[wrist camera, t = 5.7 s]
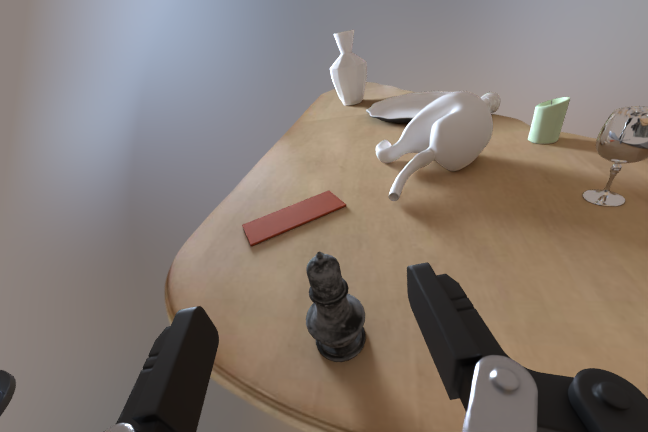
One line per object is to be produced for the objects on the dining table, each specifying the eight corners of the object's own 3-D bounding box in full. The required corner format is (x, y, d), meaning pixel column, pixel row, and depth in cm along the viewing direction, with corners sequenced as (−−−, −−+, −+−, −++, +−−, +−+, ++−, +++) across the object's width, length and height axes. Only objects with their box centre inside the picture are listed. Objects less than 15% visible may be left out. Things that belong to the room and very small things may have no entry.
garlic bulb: (466, 115, 78) (468, 95, 75) (483, 110, 79) (486, 89, 76) (482, 119, 73) (484, 98, 70) (500, 113, 74) (503, 92, 72)
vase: (369, 104, 109) (362, 28, 95) (333, 109, 112) (322, 36, 98) (369, 95, 120) (363, 27, 107) (337, 101, 123) (327, 35, 110)
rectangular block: (329, 192, 56) (328, 190, 56) (346, 206, 50) (346, 204, 50) (242, 226, 51) (242, 224, 51) (251, 246, 45) (250, 244, 45)
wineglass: (637, 211, 36) (686, 118, 30) (580, 206, 39) (613, 120, 33) (625, 189, 40) (665, 103, 34) (573, 186, 43) (602, 106, 37)
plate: (458, 124, 74) (459, 115, 72) (355, 127, 87) (354, 120, 86) (467, 95, 94) (467, 87, 93) (382, 101, 108) (381, 95, 106)
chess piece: (314, 315, 32) (288, 234, 26) (365, 310, 31) (352, 225, 25) (311, 367, 27) (278, 282, 21) (371, 362, 27) (357, 274, 20)
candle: (524, 142, 58) (534, 101, 54) (532, 134, 61) (541, 94, 56) (554, 145, 55) (567, 102, 50) (560, 136, 57) (573, 94, 53)
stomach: (389, 164, 71) (376, 230, 54) (369, 117, 64) (347, 175, 47) (492, 133, 59) (517, 203, 42) (480, 72, 53) (504, 126, 36)
